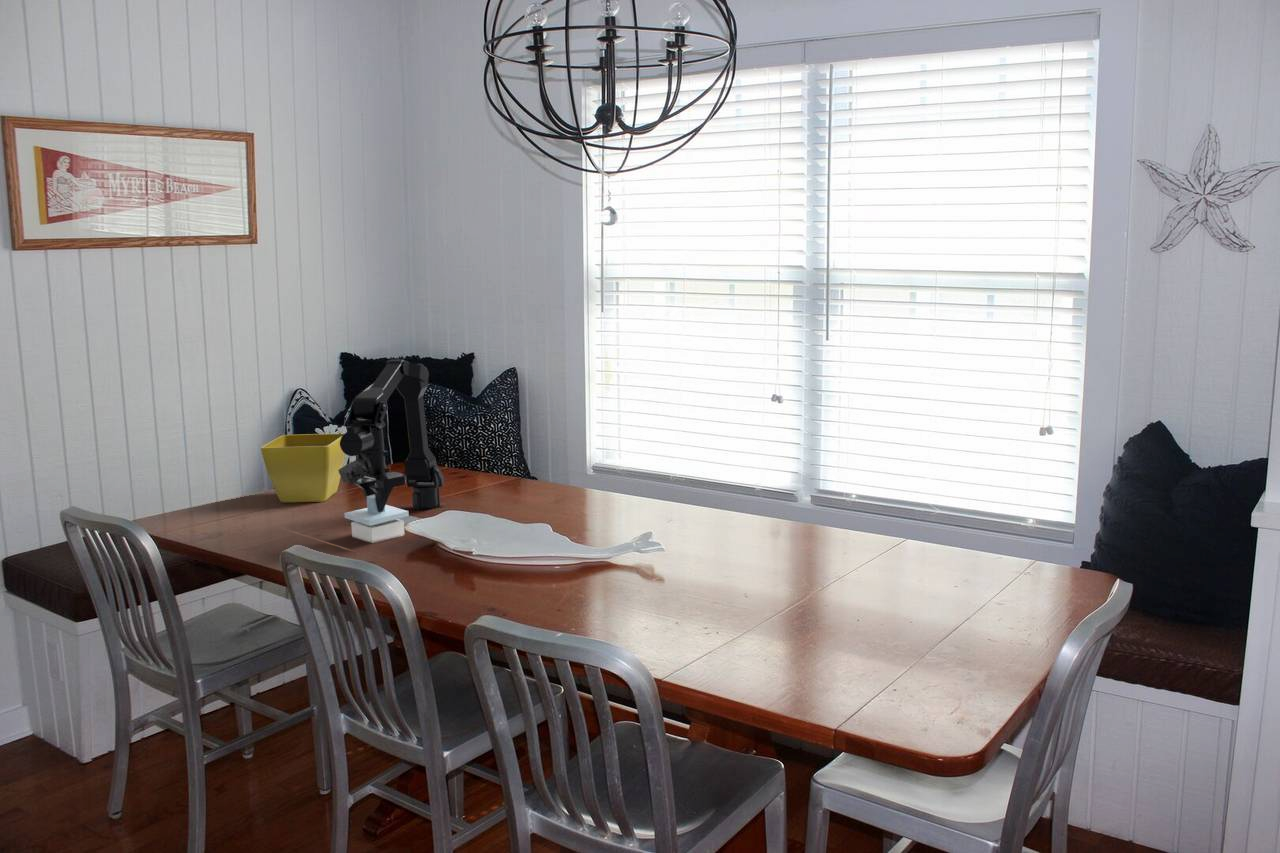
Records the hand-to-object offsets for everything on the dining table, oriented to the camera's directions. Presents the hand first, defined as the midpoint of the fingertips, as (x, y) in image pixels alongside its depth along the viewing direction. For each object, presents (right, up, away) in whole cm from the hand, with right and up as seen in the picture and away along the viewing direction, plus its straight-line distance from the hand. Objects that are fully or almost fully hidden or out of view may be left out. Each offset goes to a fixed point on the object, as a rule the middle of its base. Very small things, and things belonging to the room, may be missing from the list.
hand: (376, 510), depth 265 cm
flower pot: (-30, 0, +47) cm, 56 cm away
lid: (0, -2, 0) cm, 2 cm away
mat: (0, -4, +15) cm, 16 cm away
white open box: (0, -7, +1) cm, 7 cm away
